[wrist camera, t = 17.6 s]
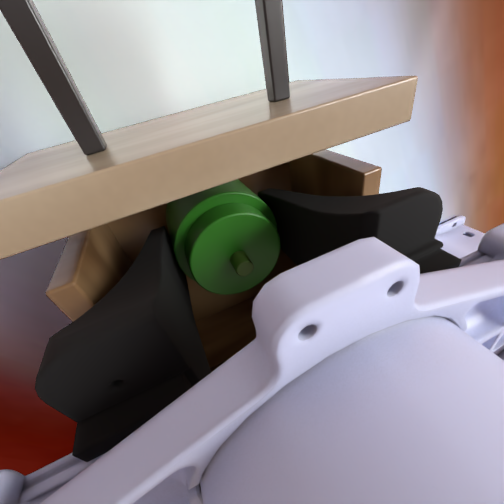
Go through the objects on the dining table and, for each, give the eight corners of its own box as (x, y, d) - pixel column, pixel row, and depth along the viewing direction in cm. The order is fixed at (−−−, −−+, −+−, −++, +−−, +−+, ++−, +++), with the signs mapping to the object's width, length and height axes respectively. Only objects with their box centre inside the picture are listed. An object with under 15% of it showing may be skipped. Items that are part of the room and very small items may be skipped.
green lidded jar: (258, 234, 15) (303, 287, 11) (184, 264, 14) (205, 332, 10) (242, 158, 12) (294, 191, 8) (149, 188, 11) (158, 242, 7)
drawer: (-123, -55, 7) (-1029, -555, 1) (285, -100, 9) (494, -354, 4) (156, 334, 18) (166, 441, 12) (309, 267, 20) (373, 332, 15)
